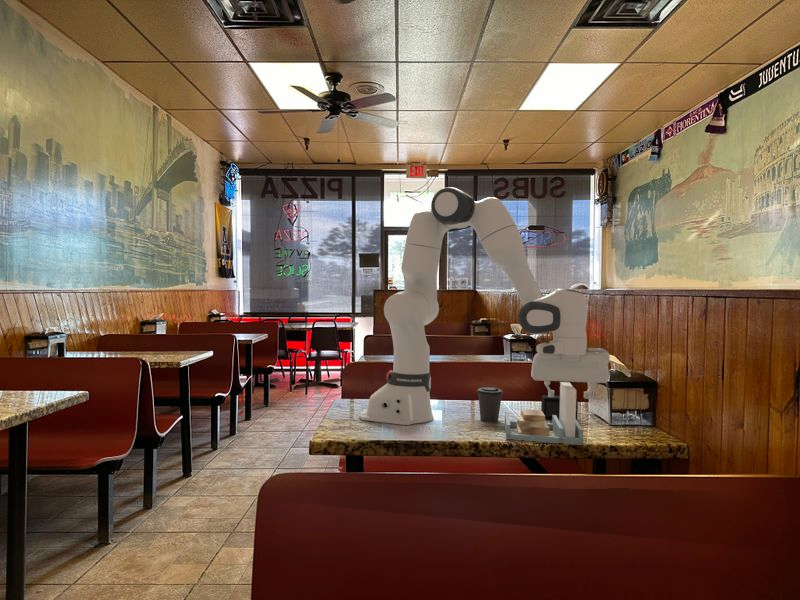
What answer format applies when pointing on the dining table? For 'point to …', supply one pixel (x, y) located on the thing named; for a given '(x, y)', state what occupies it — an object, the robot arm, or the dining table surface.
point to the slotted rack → (557, 438)
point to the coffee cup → (489, 403)
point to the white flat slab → (567, 409)
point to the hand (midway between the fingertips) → (569, 397)
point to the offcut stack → (532, 423)
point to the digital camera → (553, 406)
